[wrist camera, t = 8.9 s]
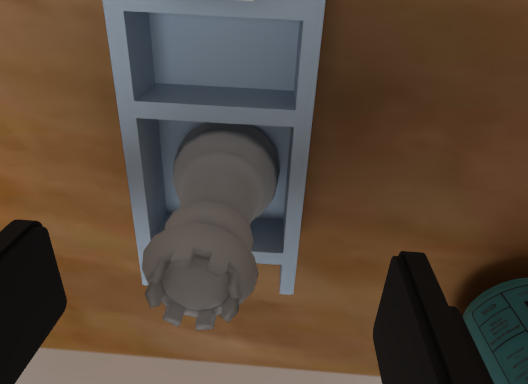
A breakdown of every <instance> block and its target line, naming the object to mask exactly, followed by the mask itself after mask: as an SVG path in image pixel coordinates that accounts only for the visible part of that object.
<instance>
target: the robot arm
mask: <svg viewBox="0 0 528 384" xmlns="http://www.w3.org/2000/svg"><path fill="white" fill-rule="evenodd" d="M66 304H67V300H66V295H65V291H64V288H63V284H62V281H61V277H60V273H59V270H58V266H57V262H56V259H55V255H54V251H53V248H52V244H51V241H50V237H49V233H48V230H47V229H46V228H45V227H43V226H42V224H41V223H40V222H38V221H30V220H14V221H12V222H11V223H10V224H8V225H7V226H6V227H5V228H4V229H3V230H2V231H0V384H15V382H16V381H17V379H18V378H19V376H20V375H21V373H22V372H23V371H24V369H25V368H26V366H27V365H28V363H29V362H30V360H31V359H32V358H33V356H34V355H35V353H36V352H37V350H38V349H39V347H40V346H41V344H42V343H43V342H44V340H45V339H46V337H47V336H48V334H49V333H50V331H51V330H52V328H53V327H54V326H55V324H56V323H57V321H58V320H59V318H60V317H61V315H62V314H63V312H64V311H65V308H66ZM373 340H374V345H375V350H376V355H377V360H378V365H379V370H380V375H381V380H382V384H494V382H493V380H492V378H491V376H490V374H489V372H488V369H487V367H486V365H485V363H484V361H483V359H482V357H481V355H480V353H479V350H478V348H477V346H476V344H475V342H474V340H473V338H472V336H471V334H470V332H469V329H468V327H467V325H466V323H465V321H464V319H463V317H462V315H461V313H460V311H459V310H458V309H457V308H456V307H453V306H448V303H447V301H446V299H445V297H444V294H443V292H442V290H441V288H440V286H439V283H438V281H437V279H436V277H435V274H434V272H433V270H432V268H431V265H430V263H429V261H428V259H427V257H426V255H425V254H424V253H420V252H407V251H401V252H400V254H399V256H393V257H392V259H391V262H390V266H389V270H388V274H387V278H386V281H385V285H384V289H383V293H382V297H381V301H380V304H379V308H378V312H377V316H376V320H375V324H374V328H373Z"/></svg>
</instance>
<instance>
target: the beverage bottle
mask: <svg viewBox="0 0 528 384" xmlns="http://www.w3.org/2000/svg"><path fill="white" fill-rule="evenodd" d="M463 319H464V321H465V323H466V325H467V327H468V329H469V332H470V334H471V336H472V338H473V340H474V342H475V344H476V346H477V348H478V350H479V353H480V355H481V357H482V359H483V361H484V363H485V365H486V367H487V369H488V372H489V374H490V376H491V378H492V380H493V382H494V384H528V278H520V279H514V280H510V281H506V282H503V283H501V284H498V285H496V286H494V287H492V288H490V289H488V290H486V291H485V292H483V293H482V294H480V295H479V296H478V297H477V298H475V299H474V300H473V301H472V302H471V303H470V305H469V306H468V307H467V309H466V310H465V312H464V314H463Z"/></svg>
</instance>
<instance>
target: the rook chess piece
mask: <svg viewBox="0 0 528 384" xmlns="http://www.w3.org/2000/svg"><path fill="white" fill-rule="evenodd" d="M279 174H280V167H279V161H278V155H277V152H276V150H275V149H274V147H273V146H272V144H271V143H270V141H269V140H268V138H267V137H266V136H265V135H264V134H262V133H261V132H260V131H258V130H257V129H255V128H254V127H252V126H251V125H246V124H229V123H211V122H205V123H203V124H201V125H200V126H198V127H197V128H195V129H193V130H192V131H190V132H189V133H188V134H187V135H186V137H185V138H184V140H183V142H182V143H181V145H180V146H179V148H178V151H177V155H176V157H175V158H174V166H173V174H172V181H173V184H174V188H175V191H176V194H177V197H178V199H179V200H180V207H179V209H177V210H175V211H174V212H173V213H172V215H171V216H170V218H169V219H168V221H167V222H166V223H165V230H164V231H162V232H160V233H158V234H157V235H155V236H154V237H153V238H152V240H151V241H150V243H149V244H148V245H147V247H146V248H145V250H144V251H143V261H142V271H143V273H144V275H145V278H146V280H147V283H148V288H147V290H146V292H145V296H146V298H147V300H148V303H149V305H150V308H152V307H155V306H159V305H160V304H161V302H162V303H163V304H164V305H165V306H166V310H165V313H164V316H163V320H165V321H167V322H169V323H171V324H173V325H175V326H177V327H179V325H180V323H181V320H182V317H183V315H188V316H193V317H197V319H196V323H195V324H196V330H206V329H214V323H215V318H216V316H217V315H219V314H221V316H220V317H222V318H223V319H224V320H226V321H227V322H229V321H230V320H231V319H232V318H233V317H234V316H235V315H236V314H237V313H238V310H239V305H240V304H242V303H243V302H244V300H245V299H246V298H247V297H248V296H249V295H250V294H251V293H252V292H253V291H254V288H255V284H256V281H257V277H258V270H257V266H256V261H255V257H254V255H253V254H252V253H251V250H252V246H253V242H254V241H253V236H252V232H251V228H250V224H251V221H253V220H254V219H255V218H256V217H258V216H260V215H261V214H262V212H263V211H264V210H265V209H266V208H267V206H268V205H269V204H270V203H271V202H272V200H273V199H274V195H275V191H276V188H277V184H278V178H279Z"/></svg>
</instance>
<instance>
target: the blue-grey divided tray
mask: <svg viewBox="0 0 528 384" xmlns="http://www.w3.org/2000/svg"><path fill="white" fill-rule="evenodd" d="M325 1H326V0H103V7H104V14H105V21H106V28H107V36H108V43H109V50H110V57H111V64H112V71H113V78H114V85H115V92H116V99H117V106H118V114H119V121H120V128H121V135H122V142H123V149H124V156H125V163H126V170H127V177H128V184H129V192H130V199H131V206H132V213H133V220H134V227H135V234H136V241H137V248H138V255H139V262H140V270H141V277H142V284H143V285H148V283H147V280H146V278H145V275H144V273H143V271H142V261H143V251H144V250H145V248H146V247H147V245H148V244H149V243H150V241H151V240H152V238H153V237H154V236H155V235H157V234H158V233H160V232H162V231H164V230H165V223H166V222H167V221H168V219H169V218H170V216H171V215H172V213H173V212H174V211H175V210H177V209H179V207H180V200H179V199H178V197H177V194H176V191H175V188H174V184H173V181H172V174H173V166H174V158H175V157H176V155H177V151H178V148H179V146H180V145H181V143H182V142H183V140H184V138H185V137H186V135H187V134H188V133H189V132H190V131H192V130H193V129H195V128H197V127H198V126H200V125H201V124H203V123H205V122H211V123H229V124H246V125H251V126H252V127H254V128H255V129H257V130H258V131H260V132H261V133H262V134H264V135H265V136H266V137H267V138H268V140H269V141H270V143H271V144H272V146H273V147H274V149H275V150H276V152H277V155H278V161H279V167H280V174H279V178H278V184H277V188H276V191H275V195H274V199H273V200H272V202H271V203H270V204H269V205H268V206H267V208H266V209H265V210H264V211H263V212H262V214H261V215H260V216H258V217H256V218H255V219H254V220H253V221H251V224H250V228H251V232H252V236H253V241H254V242H253V246H252V250H251V253H252V254H253V255H254V257H255V261H256V263H262V264H277V265H280V294H289V295H293V292H294V283H295V274H296V265H297V256H298V246H299V237H300V228H301V219H302V210H303V201H304V192H305V183H306V174H307V165H308V156H309V146H310V137H311V128H312V119H313V110H314V101H315V92H316V83H317V74H318V65H319V56H320V46H321V37H322V28H323V19H324V10H325Z"/></svg>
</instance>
